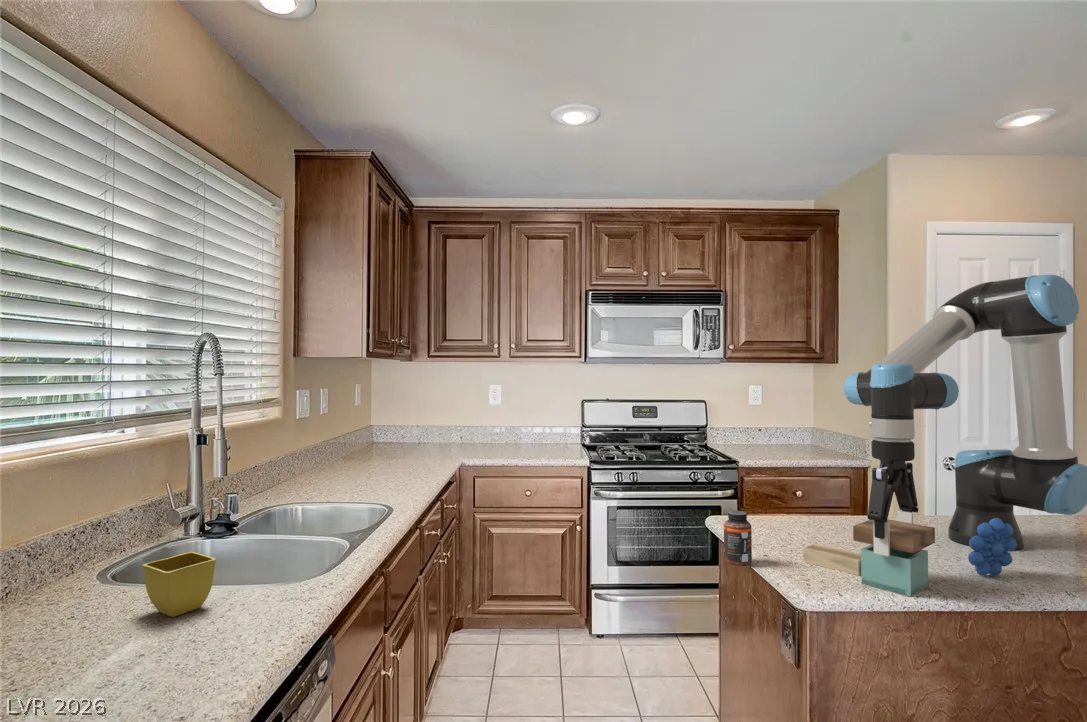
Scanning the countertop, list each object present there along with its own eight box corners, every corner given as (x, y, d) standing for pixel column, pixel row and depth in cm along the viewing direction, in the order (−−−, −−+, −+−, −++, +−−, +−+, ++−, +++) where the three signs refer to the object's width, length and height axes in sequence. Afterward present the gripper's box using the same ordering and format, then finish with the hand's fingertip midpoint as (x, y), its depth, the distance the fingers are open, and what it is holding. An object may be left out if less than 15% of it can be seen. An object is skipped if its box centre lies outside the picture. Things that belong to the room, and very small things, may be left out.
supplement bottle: (753, 567, 130) (753, 516, 131) (725, 566, 131) (724, 514, 132) (749, 559, 136) (749, 509, 136) (722, 557, 137) (722, 508, 138)
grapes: (995, 567, 130) (994, 512, 130) (1026, 577, 124) (1025, 519, 124) (951, 571, 127) (950, 515, 128) (981, 582, 121) (980, 522, 121)
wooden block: (816, 556, 138) (816, 543, 138) (871, 569, 129) (870, 555, 129) (803, 561, 134) (803, 548, 134) (858, 575, 125) (858, 561, 125)
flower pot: (165, 624, 102) (166, 572, 102) (141, 614, 107) (141, 563, 107) (216, 607, 110) (217, 558, 110) (191, 598, 114) (191, 551, 114)
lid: (876, 531, 127) (876, 517, 127) (935, 542, 119) (934, 527, 119) (853, 540, 121) (853, 525, 121) (913, 553, 112) (913, 537, 112)
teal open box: (880, 574, 126) (879, 540, 126) (928, 585, 119) (927, 550, 119) (861, 583, 120) (861, 549, 120) (910, 596, 113) (910, 559, 113)
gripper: (895, 434, 130) (897, 534, 130) (846, 442, 116) (848, 555, 115) (934, 437, 124) (936, 542, 124) (888, 445, 110) (890, 565, 109)
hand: (894, 548), depth 120 cm, fingers closed on lid, 11 cm apart
